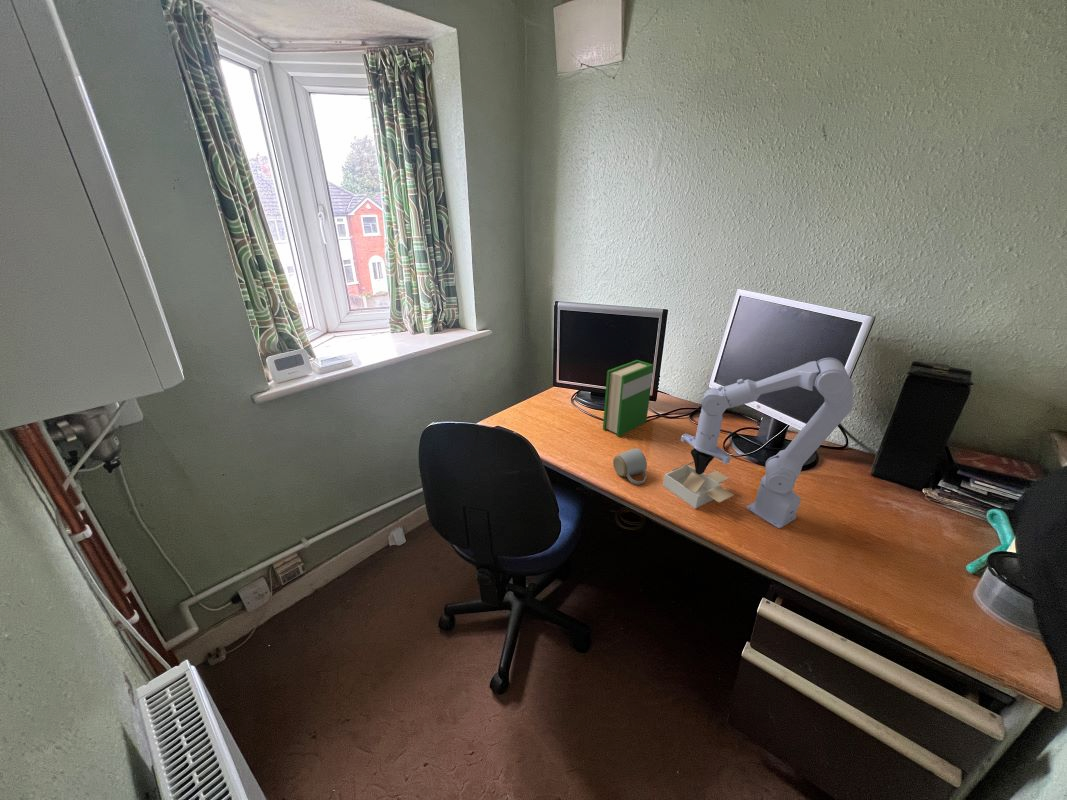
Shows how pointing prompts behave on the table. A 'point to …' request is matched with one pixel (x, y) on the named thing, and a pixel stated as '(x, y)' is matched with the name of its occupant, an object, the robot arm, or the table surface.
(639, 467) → the ceramic mug
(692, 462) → the far flap
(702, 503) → the carton
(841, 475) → the table surface
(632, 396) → the hardback book
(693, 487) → the left flap
